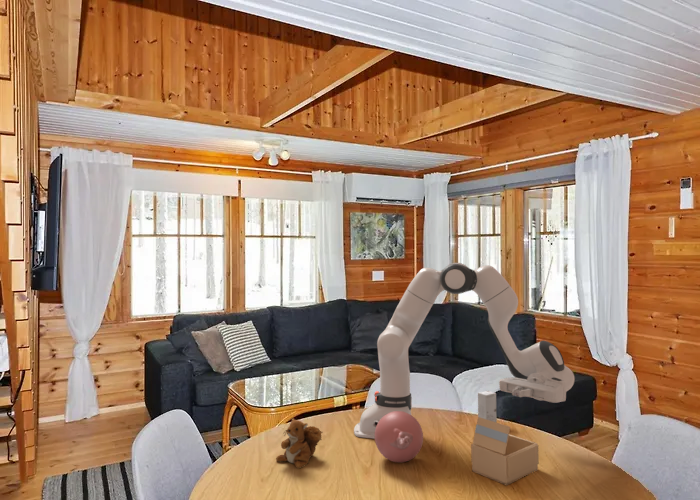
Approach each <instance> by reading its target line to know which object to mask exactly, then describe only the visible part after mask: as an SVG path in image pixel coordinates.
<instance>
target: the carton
mask: <svg viewBox="0 0 700 500" xmlns="http://www.w3.org/2000/svg"><path fill="white" fill-rule="evenodd" d="M470 448H471V451H470V452H471V454H470V455H471V468H472V470H471V471H472V472H473V473H474V474H475V473H476V474H478V475H481V476H483V477H485V478H488V479H489V480H492V481H495V482H497V483H499V484H502V485H504V486H508V485H510V484H512V483H515V482H517V481H519V480H520V478H521V479H523V478H524V476H525V477H526V475H527V476H529V475H530V473H531V474H533V473H534V471H535V472H536V471H538V470H539V469H538V468H539V463H540V462H539V459H540V458H539V444H538V442H534V441H532V440H529V439H526V438H525V439H524V438H522V437H519V436H516V435H513V434H510V433H509V437H508V442H507V447H506V453H505V454H502V453H499V452H496V451H493V450H490V449H488V448H485V447H482V446H479V445H477V444H474V443H473V442H472V443H471V447H470ZM532 472H533V473H532ZM528 474H529V475H528ZM522 477H523V478H522ZM518 479H519V480H518Z"/></svg>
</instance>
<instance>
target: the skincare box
mask: <svg viewBox="0 0 700 500" xmlns="http://www.w3.org/2000/svg"><path fill="white" fill-rule="evenodd" d="M477 414H478V415H477V418H478V417H480V418H483V419H487V420H490V421H493V422H496V423H498V421H497V418H498V417H497V393H496V392H494V391H490V390H486V391H479V392H477Z"/></svg>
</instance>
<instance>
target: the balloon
mask: <svg viewBox="0 0 700 500" xmlns="http://www.w3.org/2000/svg"><path fill="white" fill-rule="evenodd" d="M374 441H375V445H376V448H377V449H378V451H379V453H380V454H381V455H382V456H383V457H384V458H385V459H387V460H389V461H391V462H392V463H399V464H401V463H405V462H409V461H411V460H412V459H414V458H416V456H417V455H418V454H419V453H420V451H421V449H422V446H423V443H424V432H423V429H422V427H421V424H420V422H419V421H418V419H416V417H414V416H413V415H412V414H411V415H410V414H408V413H406V412H402V411H394V412H390V413H388V414H386V415H385V416H383V417H382V418H381V419H380V421H379V422H378V424H377V426H376V429H375V439H374Z"/></svg>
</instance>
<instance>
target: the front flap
mask: <svg viewBox="0 0 700 500" xmlns="http://www.w3.org/2000/svg"><path fill="white" fill-rule="evenodd" d="M510 430H511V426H508V425H505V424H502V423H500V422H497V423H496V422H493V421H490V420H487V419H483V418H480V417H478V416H477V421H476V425H475V430H474V436H473V441H472V444H473V443H474V444H477V445H479V446H482V447H485V448H488V449H490V450H493V451H496V452H499V453H502V454H505V453H506V447H507V442H508V437H509V434H510Z"/></svg>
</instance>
